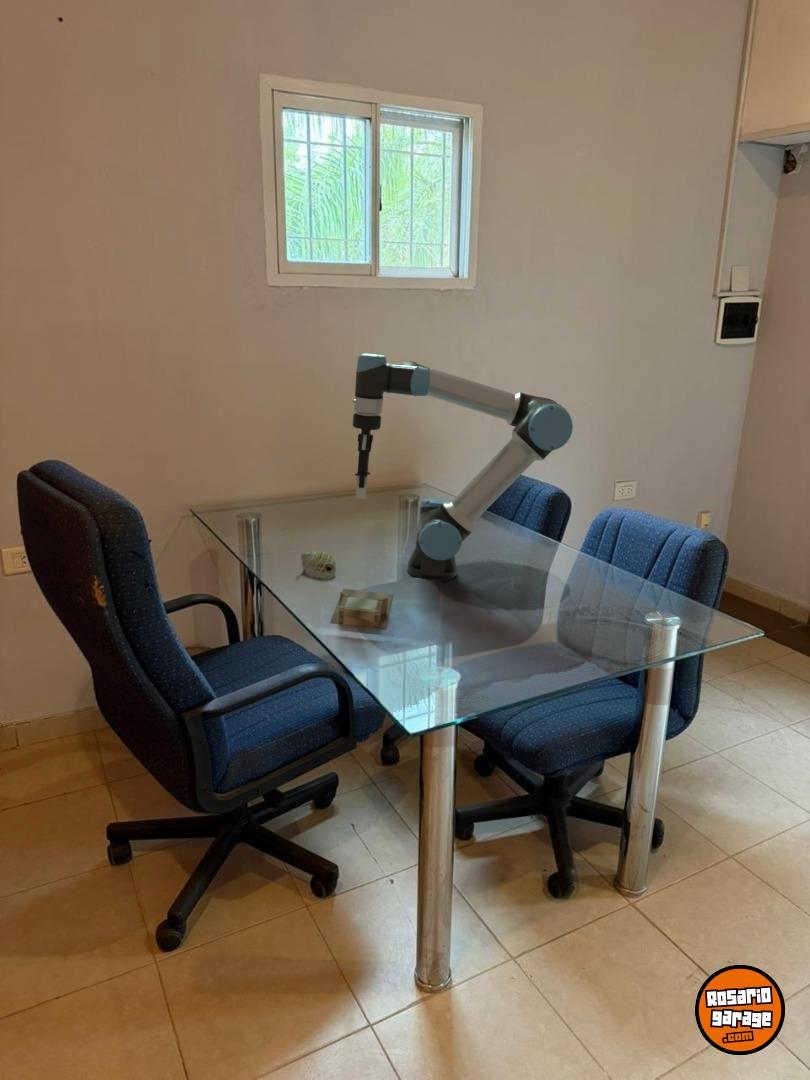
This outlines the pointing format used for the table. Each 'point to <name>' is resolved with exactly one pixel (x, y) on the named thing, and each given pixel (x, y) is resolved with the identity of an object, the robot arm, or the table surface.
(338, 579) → the table surface
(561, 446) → the robot arm
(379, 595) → the dock
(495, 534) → the table surface
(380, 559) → the table surface
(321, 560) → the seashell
